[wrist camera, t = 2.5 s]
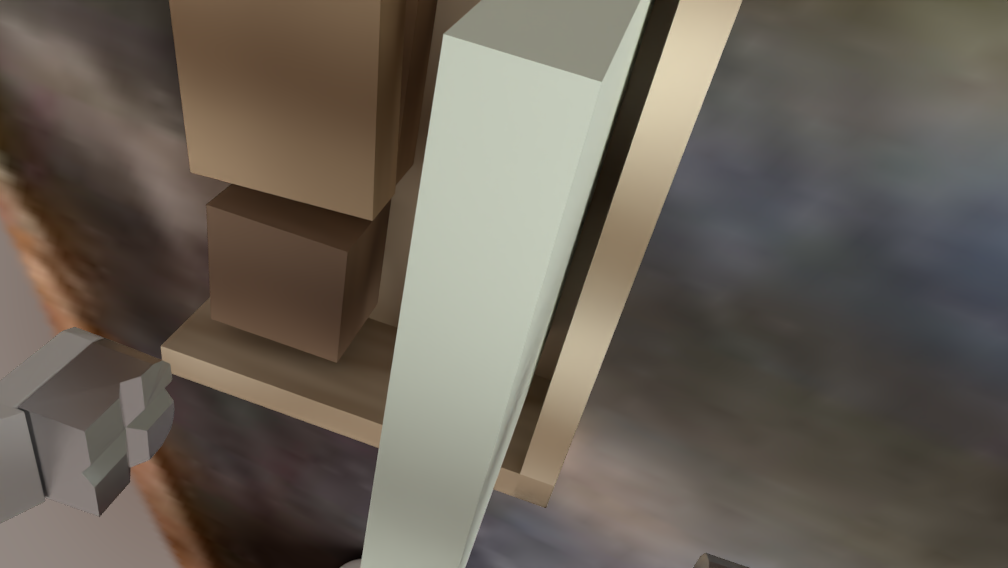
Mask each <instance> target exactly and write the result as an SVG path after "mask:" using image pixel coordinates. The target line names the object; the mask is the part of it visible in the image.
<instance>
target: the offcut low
mask: <svg viewBox="0 0 1008 568" xmlns="http://www.w3.org/2000/svg"><path fill="white" fill-rule="evenodd" d="M437 1H438V0H406V8H405V26H404V44H403V62H402V80H401V98H400V116H399V134H398V152H397V170H396V185H397V184H398V182H399V181H400V180H401V179H402V178H403V176H404V175H405V174H406V173H407V172H408V170H409V169H410V168H411V167H412V166H413V164H414V157H415V150H416V143H417V137H418V130H419V123H420V116H421V109H422V103H423V96H424V89H425V82H426V75H427V69H428V62H429V55H430V48H431V42H432V35H433V28H434V21H435V14H436V8H437Z"/></svg>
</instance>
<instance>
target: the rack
mask: <svg viewBox="0 0 1008 568" xmlns="http://www.w3.org/2000/svg"><path fill="white" fill-rule="evenodd" d="M480 1H481V0H438V1H437V8H436V14H435V21H434V28H433V35H432V42H431V48H430V55H429V62H428V69H427V75H426V82H425V89H424V96H423V103H422V109H421V116H420V123H419V130H418V137H417V143H416V150H415V157H414V164H413V166H412V167H411V168H410V169H409V170H408V172H407V173H406V174H405V175H404V176H403V178H402V179H401V180H400V181H399V182H398V184H397V185H396V188H395V194H394V195H393V197H392V198H391V206H390V213H389V221H388V229H387V236H386V244H385V251H384V259H383V267H382V274H381V282H380V289H379V297H378V304H377V305H376V307H375V308H374V310H373V311H372V313H371V314H370V316H369V317H368V318H367V320H366V321H365V323H364V324H363V326H362V327H361V329H360V330H359V332H358V333H357V334H356V336H355V337H354V339H353V340H352V342H351V343H350V345H349V346H348V347H347V349H346V350H345V352H344V353H343V355H342V356H341V358H340V359H339V361H338V362H337V363H336V362H333V361H330V360H327V359H324V358H322V357H319V356H316V355H313V354H310V353H307V352H304V351H302V350H299V349H296V348H293V347H290V346H287V345H284V344H282V343H279V342H276V341H273V340H270V339H267V338H264V337H262V336H259V335H256V334H253V333H250V332H247V331H245V330H242V329H239V328H236V327H233V326H230V325H227V324H225V323H222V322H219V321H216V320H213V319H211V308H210V298H209V299H208V300H207V301H206V302H205V303H204V304H203V305H202V306H201V307H200V308H199V309H198V310H197V311H196V312H195V313H194V314H193V315H192V316H191V317H190V318H189V319H187V320H186V321H185V322H184V323H183V324H182V325H181V326H180V327H179V328H178V329H177V330H176V331H175V332H174V333H173V334H172V335H171V336H170V337H169V338H168V339H167V340H166V341H165V342H164V343H163V344H162V345H161V353H162V360H163V361H165V362H167V363H170V366H171V373H172V374H175V375H178V376H180V377H183V378H186V379H189V380H191V381H194V382H197V383H200V384H203V385H205V386H208V387H211V388H214V389H216V390H219V391H222V392H225V393H228V394H230V395H233V396H236V397H239V398H241V399H244V400H247V401H250V402H253V403H255V404H258V405H261V406H264V407H266V408H269V409H272V410H275V411H278V412H280V413H283V414H286V415H289V416H291V417H294V418H297V419H300V420H303V421H305V422H308V423H311V424H314V425H316V426H319V427H322V428H325V429H328V430H330V431H333V432H336V433H339V434H341V435H344V436H347V437H350V438H353V439H355V440H358V441H361V442H364V443H366V444H369V445H372V446H375V447H378V448H379V444H380V438H381V432H382V425H383V419H384V412H385V406H386V400H387V393H388V387H389V380H390V374H391V367H392V361H393V355H394V348H395V342H396V335H397V329H398V323H399V316H400V310H401V303H402V297H403V291H404V284H405V278H406V271H407V265H408V258H409V252H410V246H411V239H412V233H413V226H414V220H415V214H416V207H417V201H418V194H419V188H420V182H421V175H422V169H423V162H424V156H425V149H426V143H427V137H428V130H429V124H430V117H431V111H432V105H433V98H434V92H435V85H436V79H437V73H438V66H439V60H440V53H441V47H442V40H443V34H444V33H445V32H446V31H447V30H449V29H450V28H451V27H452V26H453V25H454V24H455V23H456V22H458V21H459V20H460V19H461V18H462V17H463V16H464V15H465V14H467V13H468V12H469V11H470V10H471V9H472V8H473V7H474V6H475V5H477V4H478V3H479V2H480ZM741 3H742V0H655V2H654V5H653V8H652V12H651V15H650V18H649V21H648V24H647V27H646V30H645V34H644V37H643V40H642V43H641V46H640V49H639V52H638V56H637V59H636V62H635V65H634V68H633V71H632V74H631V78H630V81H629V84H628V87H627V90H626V93H625V96H624V100H623V103H622V106H621V109H620V112H619V115H618V118H617V122H616V125H615V128H614V131H613V134H612V137H611V140H610V144H609V147H608V150H607V153H606V156H605V159H604V162H603V166H602V169H601V172H600V175H599V178H598V181H597V184H596V188H595V191H594V194H593V197H592V200H591V203H590V206H589V210H588V213H587V216H586V219H585V222H584V225H583V228H582V232H581V235H580V238H579V241H578V244H577V247H576V250H575V254H574V257H573V260H572V263H571V266H570V269H569V272H568V276H567V279H566V282H565V285H564V288H563V291H562V294H561V298H560V301H559V304H558V307H557V310H556V313H555V316H554V320H553V323H552V326H551V329H550V332H549V335H548V337H547V340H546V343H545V346H544V349H543V351H542V354H541V357H540V360H539V363H538V365H537V368H536V371H535V374H534V376H533V379H532V382H531V385H530V388H529V390H528V393H527V396H526V399H525V402H524V404H523V407H522V410H521V413H520V416H519V418H518V421H517V424H516V427H515V430H514V432H513V435H512V438H511V441H510V444H509V446H508V449H507V452H506V455H505V458H504V460H503V463H502V466H501V469H500V472H499V474H498V477H497V480H496V483H495V486H494V488H493V489H494V490H497V491H500V492H503V493H505V494H508V495H511V496H514V497H516V498H519V499H522V500H525V501H528V502H530V503H533V504H536V505H539V506H541V507H544V508H546V507H547V504H548V501H549V499H550V496H551V494H552V491H553V489H554V486H555V483H556V481H557V478H558V476H559V473H560V470H561V468H562V465H563V463H564V460H565V458H566V455H567V452H568V450H569V447H570V445H571V442H572V439H573V437H574V434H575V432H576V429H577V426H578V424H579V421H580V419H581V416H582V414H583V411H584V408H585V406H586V403H587V401H588V398H589V395H590V393H591V390H592V388H593V385H594V383H595V380H596V377H597V375H598V372H599V370H600V367H601V364H602V362H603V359H604V357H605V354H606V352H607V349H608V346H609V344H610V341H611V339H612V336H613V333H614V331H615V328H616V326H617V323H618V320H619V318H620V315H621V313H622V310H623V308H624V305H625V302H626V300H627V297H628V295H629V292H630V289H631V287H632V284H633V282H634V279H635V277H636V274H637V271H638V269H639V266H640V264H641V261H642V258H643V256H644V253H645V251H646V248H647V246H648V243H649V240H650V238H651V235H652V233H653V230H654V227H655V225H656V222H657V220H658V217H659V215H660V212H661V209H662V207H663V204H664V202H665V199H666V196H667V194H668V191H669V189H670V186H671V183H672V181H673V178H674V176H675V173H676V171H677V168H678V165H679V163H680V160H681V158H682V155H683V152H684V150H685V147H686V145H687V142H688V140H689V137H690V134H691V132H692V129H693V127H694V124H695V121H696V119H697V116H698V114H699V111H700V109H701V106H702V103H703V101H704V98H705V96H706V93H707V90H708V88H709V85H710V83H711V80H712V77H713V75H714V72H715V70H716V67H717V65H718V62H719V59H720V57H721V54H722V52H723V49H724V46H725V44H726V41H727V39H728V36H729V34H730V31H731V28H732V26H733V23H734V21H735V18H736V15H737V13H738V10H739V8H740V5H741Z"/></svg>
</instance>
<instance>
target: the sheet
mask: <svg viewBox="0 0 1008 568" xmlns="http://www.w3.org/2000/svg"><path fill="white" fill-rule="evenodd" d="M654 2H655V0H481V1H480V2H479V3H478V4H477V5H475V6H474V7H473V8H472V9H471V10H470V11H469V12H468V13H467V14H465V15H464V16H463V17H462V18H461V19H460V20H459V21H458V22H456V23H455V24H454V25H453V26H452V27H451V28H450V29H449V30H447V31H446V32H445V33H444V34H443V40H442V47H441V53H440V60H439V66H438V73H437V79H436V85H435V92H434V98H433V105H432V111H431V117H430V124H429V130H428V137H427V143H426V149H425V156H424V162H423V169H422V175H421V182H420V188H419V194H418V201H417V207H416V214H415V220H414V226H413V233H412V239H411V246H410V252H409V258H408V265H407V271H406V278H405V284H404V291H403V297H402V303H401V310H400V316H399V323H398V329H397V335H396V342H395V348H394V355H393V361H392V367H391V374H390V380H389V387H388V393H387V400H386V406H385V412H384V419H383V425H382V432H381V438H380V444H379V451H378V457H377V464H376V470H375V476H374V483H373V489H372V496H371V502H370V509H369V515H368V521H367V528H366V534H365V541H364V547H363V553H362V560H361V566H360V568H465V567H466V564H467V561H468V558H469V556H470V553H471V550H472V547H473V544H474V542H475V539H476V536H477V533H478V530H479V528H480V525H481V522H482V519H483V516H484V514H485V511H486V508H487V505H488V502H489V500H490V497H491V494H492V491H493V488H494V486H495V483H496V480H497V477H498V474H499V472H500V469H501V466H502V463H503V460H504V458H505V455H506V452H507V449H508V446H509V444H510V441H511V438H512V435H513V432H514V430H515V427H516V424H517V421H518V418H519V416H520V413H521V410H522V407H523V404H524V402H525V399H526V396H527V393H528V390H529V388H530V385H531V382H532V379H533V376H534V374H535V371H536V368H537V365H538V363H539V360H540V357H541V354H542V351H543V349H544V346H545V343H546V340H547V337H548V335H549V332H550V329H551V326H552V323H553V320H554V316H555V313H556V310H557V307H558V304H559V301H560V298H561V294H562V291H563V288H564V285H565V282H566V279H567V276H568V272H569V269H570V266H571V263H572V260H573V257H574V254H575V250H576V247H577V244H578V241H579V238H580V235H581V232H582V228H583V225H584V222H585V219H586V216H587V213H588V210H589V206H590V203H591V200H592V197H593V194H594V191H595V188H596V184H597V181H598V178H599V175H600V172H601V169H602V166H603V162H604V159H605V156H606V153H607V150H608V147H609V144H610V140H611V137H612V134H613V131H614V128H615V125H616V122H617V118H618V115H619V112H620V109H621V106H622V103H623V100H624V96H625V93H626V90H627V87H628V84H629V81H630V78H631V74H632V71H633V68H634V65H635V62H636V59H637V56H638V52H639V49H640V46H641V43H642V40H643V37H644V34H645V30H646V27H647V24H648V21H649V18H650V15H651V12H652V8H653V5H654Z"/></svg>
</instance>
